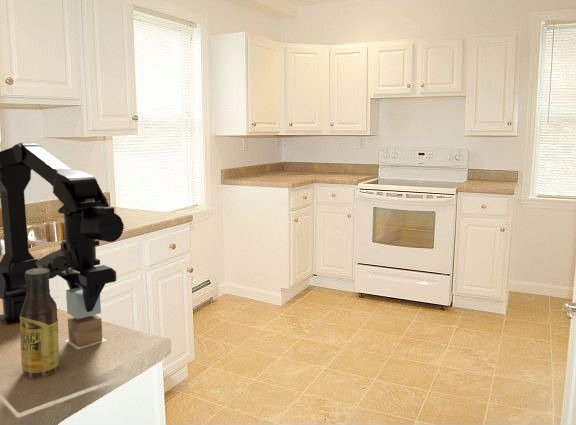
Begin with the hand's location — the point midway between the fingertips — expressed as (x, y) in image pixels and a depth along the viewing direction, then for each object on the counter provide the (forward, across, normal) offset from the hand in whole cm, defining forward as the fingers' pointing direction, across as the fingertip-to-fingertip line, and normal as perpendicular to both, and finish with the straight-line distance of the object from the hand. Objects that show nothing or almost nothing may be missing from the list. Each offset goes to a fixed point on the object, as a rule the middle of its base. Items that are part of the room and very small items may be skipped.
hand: (83, 308), depth 106 cm
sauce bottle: (+8, +8, -12) cm, 16 cm away
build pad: (+8, 0, 0) cm, 8 cm away
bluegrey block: (+1, 0, 0) cm, 1 cm away
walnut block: (+7, 0, 0) cm, 7 cm away
